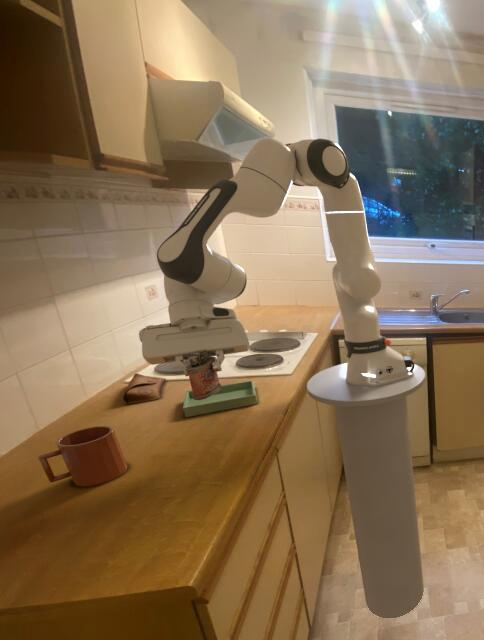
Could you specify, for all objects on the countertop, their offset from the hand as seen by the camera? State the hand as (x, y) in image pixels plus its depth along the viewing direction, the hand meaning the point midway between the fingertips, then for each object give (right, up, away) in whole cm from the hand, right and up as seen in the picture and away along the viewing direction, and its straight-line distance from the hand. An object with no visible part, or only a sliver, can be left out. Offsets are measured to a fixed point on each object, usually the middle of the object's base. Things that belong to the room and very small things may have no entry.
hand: (203, 372), depth 98 cm
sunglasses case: (-42, -5, +35) cm, 55 cm away
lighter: (-1, -5, +2) cm, 6 cm away
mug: (-19, -22, -7) cm, 30 cm away
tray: (-15, -8, +29) cm, 33 cm away
